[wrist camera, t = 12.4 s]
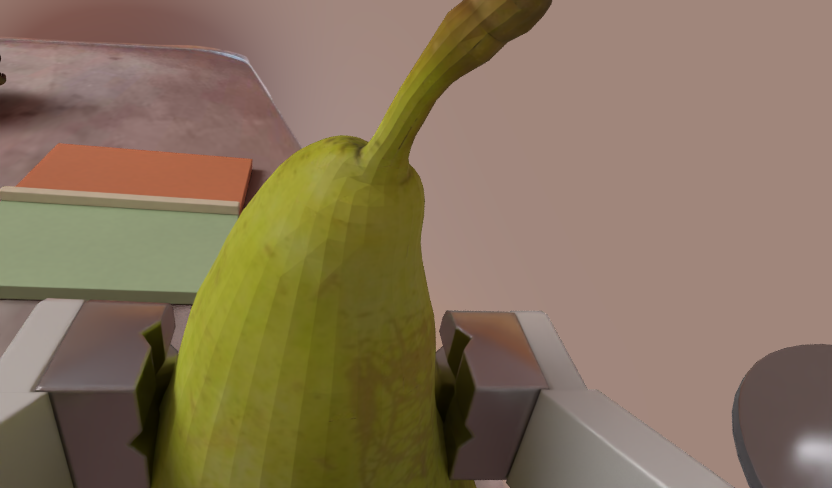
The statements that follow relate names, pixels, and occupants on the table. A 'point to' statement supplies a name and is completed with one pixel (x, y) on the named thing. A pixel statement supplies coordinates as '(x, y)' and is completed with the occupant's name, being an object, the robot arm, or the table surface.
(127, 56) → the table surface
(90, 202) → the sorting board
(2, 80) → the dragon fruit
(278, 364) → the fruit
